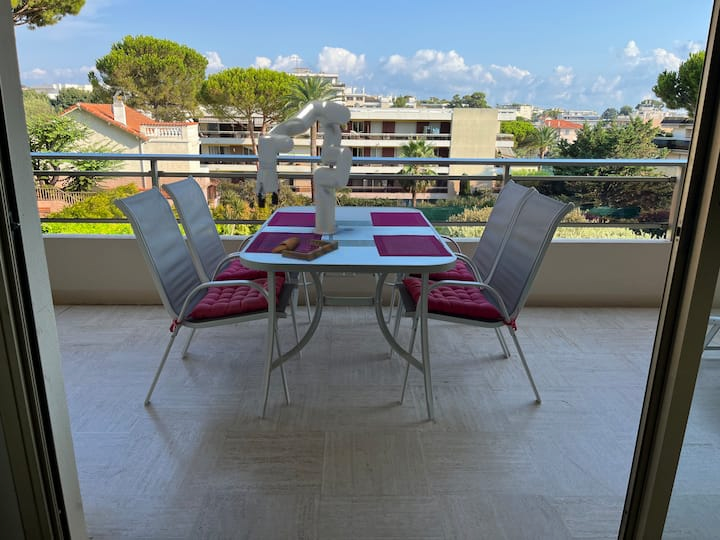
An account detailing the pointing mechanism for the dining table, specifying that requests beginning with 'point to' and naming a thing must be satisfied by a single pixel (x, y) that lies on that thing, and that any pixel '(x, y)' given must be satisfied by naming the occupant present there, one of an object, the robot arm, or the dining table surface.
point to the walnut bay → (324, 249)
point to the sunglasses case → (286, 245)
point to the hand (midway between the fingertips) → (268, 206)
